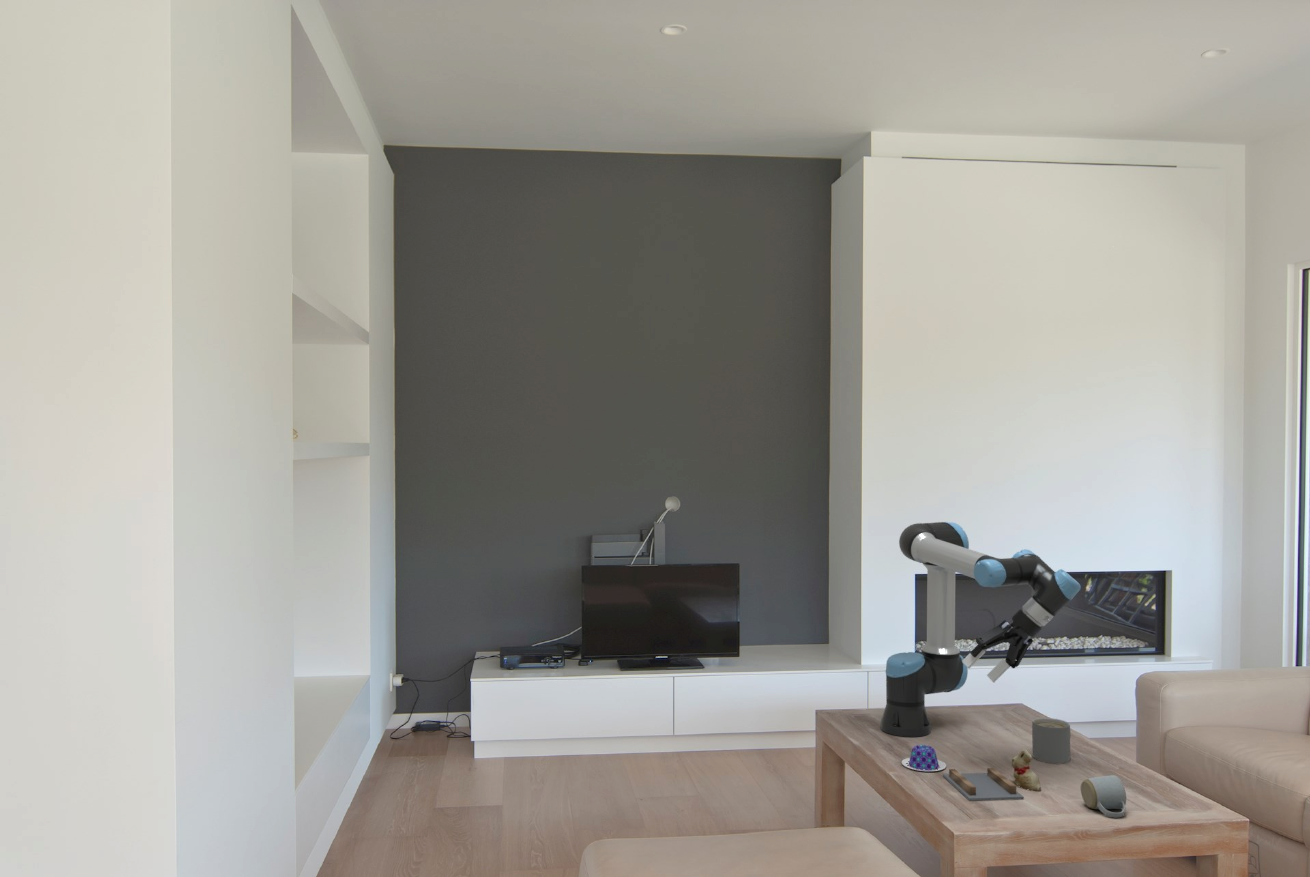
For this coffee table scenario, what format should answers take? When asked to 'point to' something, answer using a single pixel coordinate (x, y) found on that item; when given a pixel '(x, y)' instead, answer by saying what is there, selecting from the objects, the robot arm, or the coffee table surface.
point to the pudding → (923, 759)
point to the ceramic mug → (1104, 794)
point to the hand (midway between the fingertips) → (978, 672)
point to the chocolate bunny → (1025, 772)
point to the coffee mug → (1051, 740)
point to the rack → (990, 772)
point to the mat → (983, 787)
